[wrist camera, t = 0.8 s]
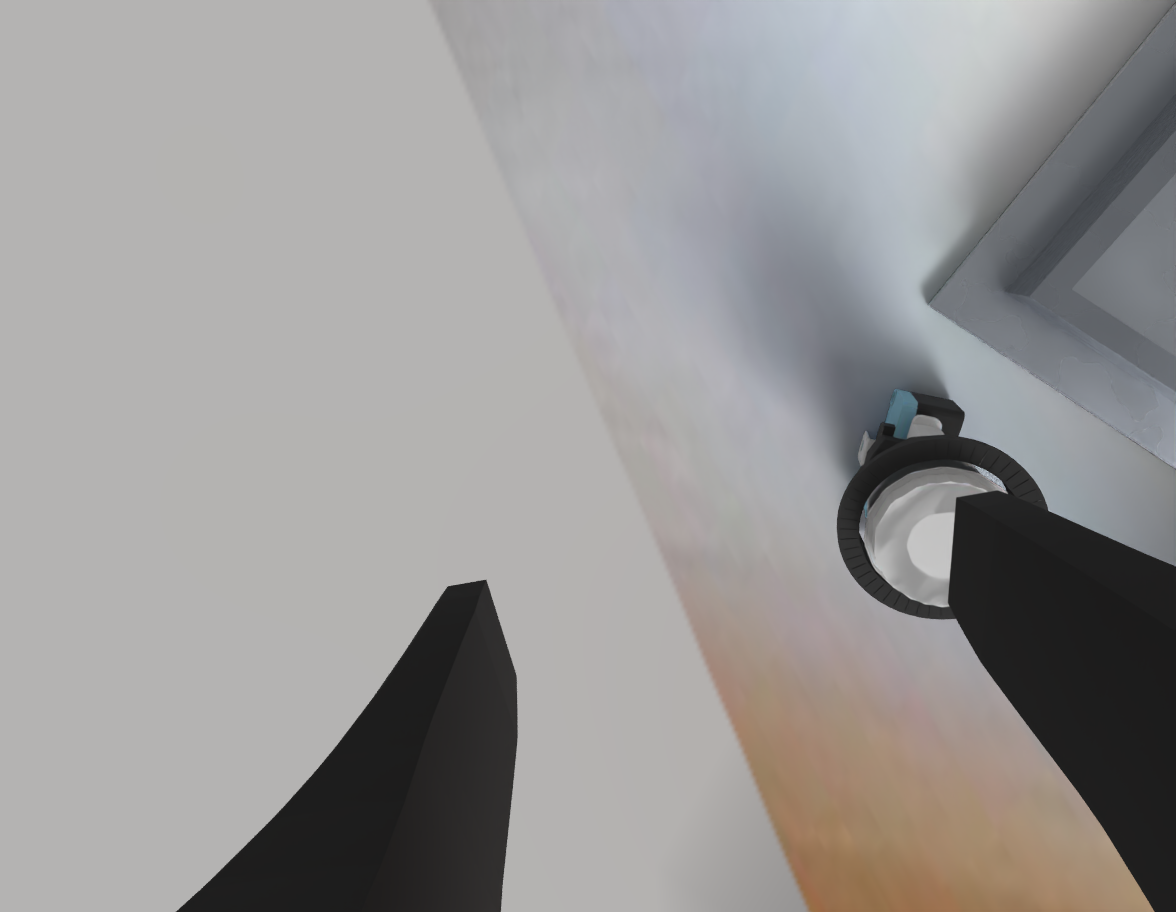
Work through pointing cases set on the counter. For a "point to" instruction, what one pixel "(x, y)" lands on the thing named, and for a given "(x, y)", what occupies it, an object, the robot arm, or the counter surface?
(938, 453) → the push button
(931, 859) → the counter surface
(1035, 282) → the grey metal tray
